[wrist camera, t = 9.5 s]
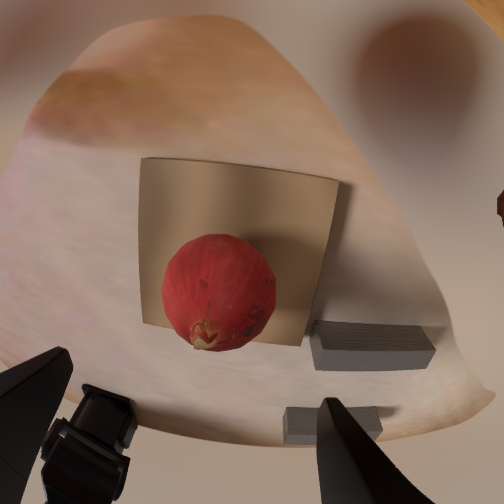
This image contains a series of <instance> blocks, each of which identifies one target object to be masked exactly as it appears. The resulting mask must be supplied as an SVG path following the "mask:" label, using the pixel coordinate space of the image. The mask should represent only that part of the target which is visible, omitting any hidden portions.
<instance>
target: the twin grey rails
mask: <svg viewBox="0 0 504 504" xmlns="http://www.w3.org/2000/svg"><path fill="white" fill-rule="evenodd" d="M309 341H310V346H311V351H312V356H313V361H314V366H315V370H322V371H396V370H415V369H426V368H427V366H428V364H429V362H430V361H431V359H432V357H433V355H434V354H435V352H436V349H435V347H434V346H433V345H432V343H431V342H430V340H429V339H428V337H427V336H426V335H425V333H424V332H423V331H422V329H421V328H420V326H394V325H373V324H356V323H342V322H329V321H318V320H315V323H314V327H313V330H312V333H311V337H310V340H309ZM346 409H347V410H348V411H349V412H350V414H351V415H352V416H353V417H354V418H355V420H356V421H357V422H358V423H359V424H360V426H361V427H362V428H363V429H364V430H365V431H366V433H367V434H368V435H369V436H370V437H371V438H372V440H376V439H377V437H378V436H379V435H380V434H381V432H382V431H383V428H382V425H381V422H380V419H379V416H378V413H377V410H376V407H375V406H374V407H357V408H346ZM318 410H319V408H295V407H287V408H286V410H285V413H284V416H283V437H284V444H293V445H316V444H317V412H318Z"/></svg>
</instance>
